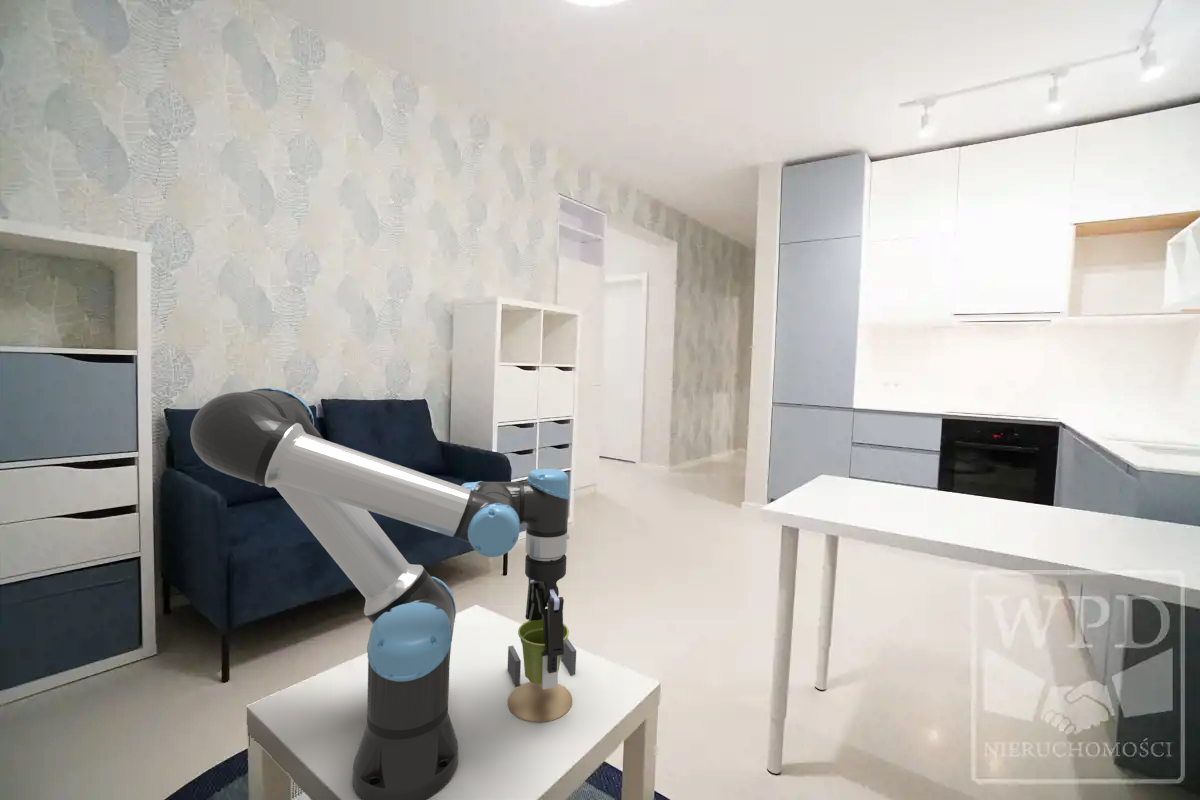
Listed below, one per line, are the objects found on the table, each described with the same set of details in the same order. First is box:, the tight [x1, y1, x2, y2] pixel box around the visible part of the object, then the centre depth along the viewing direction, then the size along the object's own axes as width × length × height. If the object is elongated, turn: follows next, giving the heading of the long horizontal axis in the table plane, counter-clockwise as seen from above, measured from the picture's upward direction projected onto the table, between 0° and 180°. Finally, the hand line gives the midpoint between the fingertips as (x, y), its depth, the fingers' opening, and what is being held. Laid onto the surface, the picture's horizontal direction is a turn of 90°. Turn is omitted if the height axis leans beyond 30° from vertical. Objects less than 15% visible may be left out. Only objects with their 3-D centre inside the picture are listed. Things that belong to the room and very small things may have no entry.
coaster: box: [507, 681, 573, 723], centre depth 99 cm, size 12×12×1 cm
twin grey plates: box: [506, 637, 577, 687], centre depth 109 cm, size 13×6×5 cm, turn 113°
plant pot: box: [517, 619, 570, 684], centre depth 99 cm, size 9×9×9 cm
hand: (542, 673), depth 99 cm, fingers closed on plant pot, 8 cm apart
